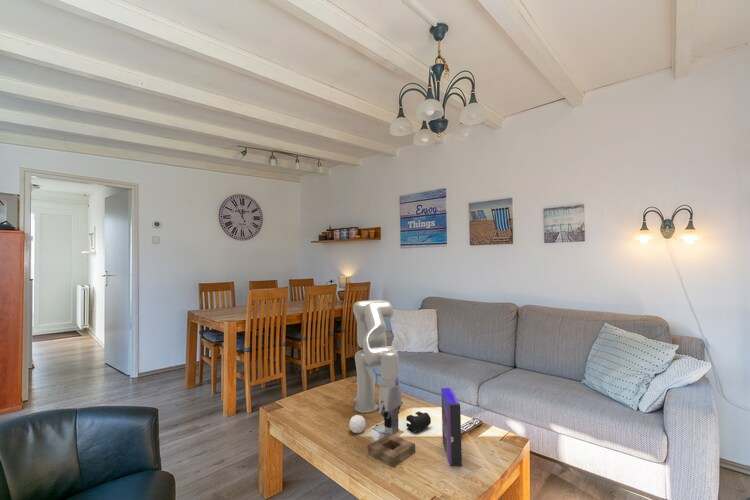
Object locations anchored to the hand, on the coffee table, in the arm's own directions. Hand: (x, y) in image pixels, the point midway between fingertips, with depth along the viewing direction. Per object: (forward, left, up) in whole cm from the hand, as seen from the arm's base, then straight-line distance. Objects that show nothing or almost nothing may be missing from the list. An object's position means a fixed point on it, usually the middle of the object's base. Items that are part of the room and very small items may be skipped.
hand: (391, 424), depth 151 cm
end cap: (-4, +24, -12) cm, 28 cm away
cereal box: (+19, +16, -12) cm, 28 cm away
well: (0, 0, -12) cm, 12 cm away
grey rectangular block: (0, 0, -3) cm, 3 cm away
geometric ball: (-24, +3, -12) cm, 27 cm away
